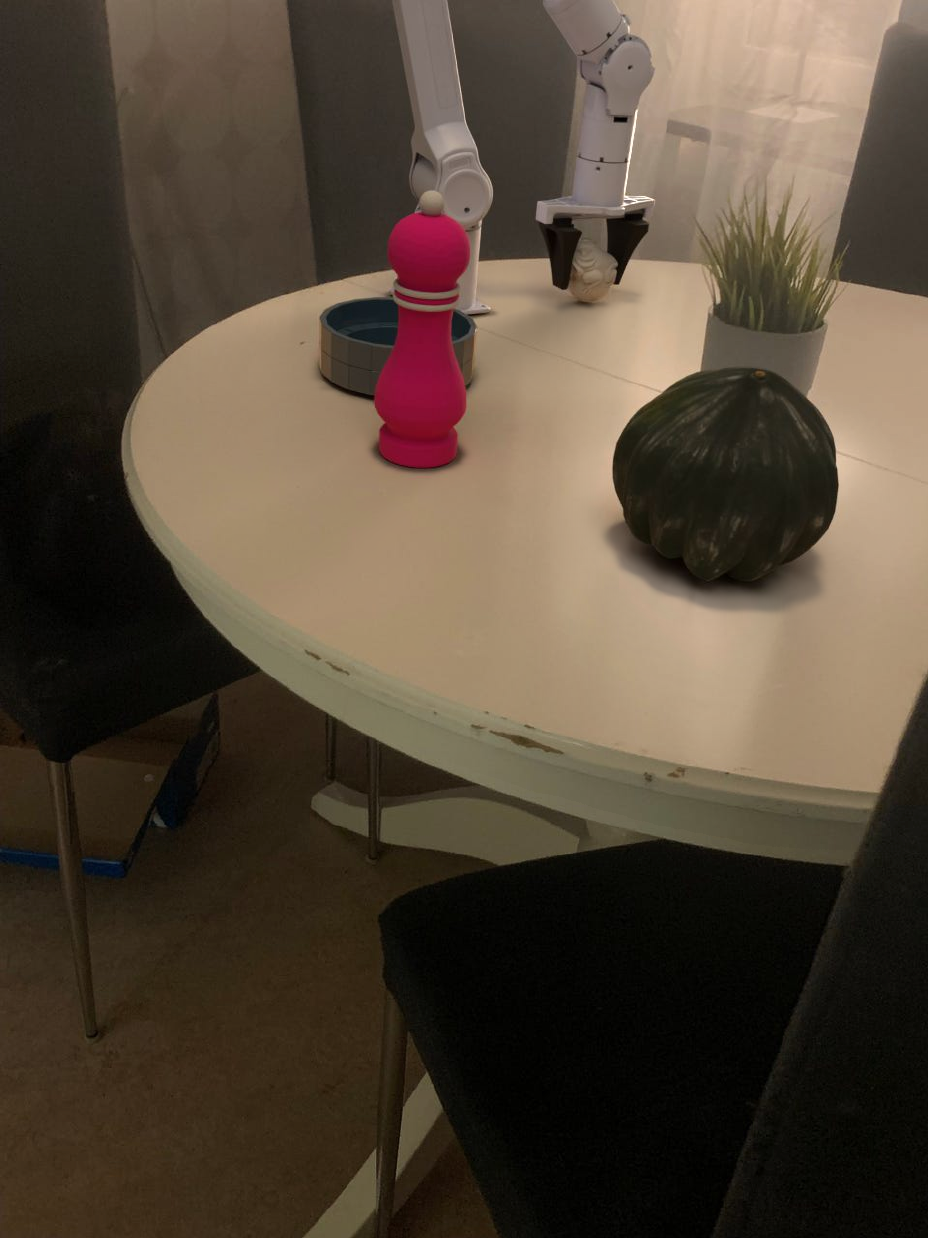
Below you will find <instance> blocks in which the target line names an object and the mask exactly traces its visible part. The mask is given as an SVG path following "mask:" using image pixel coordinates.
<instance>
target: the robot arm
mask: <svg viewBox="0 0 928 1238" xmlns="http://www.w3.org/2000/svg"><path fill="white" fill-rule="evenodd" d="M391 3H392V8H393V12H394V20H395V24H396V30H397V36H398V40H399V45H400V46H399V47H400V52H401V57H402V63H403V68H404V74H405V79H406V85H407V90H408V95H409V101H410V108H411V112H412V117H413V118H412V119H413V124H414V131H413V133H412V136H411V138H410V139H411V140H410V146H411V152H412V161H411V166H410V170H409V175H408V177H409V178H408V183H409V188H410V190H411V191H410V192H411V194H412V195H413V197H414V198H415V199H416V200H417V205H416V208H415V210H414V213H419V212H422V211H421V209H420V206H419V201H420V198H421V196H422V195H423V194H424V193H425V192H427V191H430V190H433V191H437V192H439V193H440V194H441V195H442V197H443V199H444V209H443V211H442V212H441V213H440V214H444V215H447V216H449V217H451V218H453V219H455V220H456V221H457V222H458V223H459V224H460V225H461V226H462V227H463V228H464V230H465V231H466V233H467V235H468V238H469V243H470V261H469V265H468V267H467V269H466V270H465V272H464V273H463V274H462V275H461V276H460V277H459V278H458V280H457V283H458V284H459V285H460V286H461V291H460V293H459V298H460V304H459V305H458V306H457V307H456V308H454V309H456V310H459V311H461V312H463V313H465V314H466V315H474V314H475V315H476V314H485V313H490V312H491V307H490V306H488V305H487V304H485V303H483V302H481V301H480V300H478V299H477V298H476V297H477V285H478V271H479V260H480V259H479V258H480V247H481V233H482V224H483V219H484V218H485V217H486V215H487V214H488V212H489V211H490V208H491V206H492V203H493V197H494V196H493V195H494V191H493V185H492V181H491V179H490V177H489V175H488V174H487V173H486V171H485V169H484V168H483V167H482V164H481V162H480V158H479V151H478V148H477V145H476V142H475V140H474V137H473V136H472V134H471V131H470V129H469V127H468V125H467V121H466V115H465V108H464V101H463V95H462V91H461V90H462V89H461V83H460V76H459V68H458V63H457V62H458V61H457V57H456V49H455V43H454V38H453V37H454V36H453V31H452V25H451V17H450V11H449V5H448V0H391ZM542 5H543V8H544V9H545V11H546V12H547V14H548V15H549V17H550V19H551V20H552V22H553V23H554V25H555V26H556V28H557V29H558V31H559V32H560V34H561V35H562V36H563V38H564V40H565V41H566V43H567V45H568V46H569V47H570V49H571V51H572V52H573V53H574V55H575V56H576V57H577V71H578V75H579V77H580V78H581V79H583V80H584V81H585V82H586V84H585V90H584V97H583V107H582V113H581V121H580V129H579V136H578V145H577V153H576V160H575V168H574V176H573V184H572V191H571V195H569V196H564V197H559V198H554V199H548V200H538V201H537V203H536V212H535V220H536V221H537V222H538V227H539V230H540V232H541V234H542V238H543V239H544V243H545V245H546V250H547V254H548V259H549V263H550V272H551V281H552V282H551V283H552V286H554V287H556V288H557V289H559V290H562V291H564V290H565V291H566V290H568V289H569V288H568V285H569V281H570V275H571V268H572V262H573V257H574V254H575V250H576V247H577V244H578V242H579V239H580V240H581V237H582V235H583V231H581V230H580V229H578V228H577V227H575V224H574V223H573V221H590V220H605V222H606V234H607V235H606V237H607V239H606V240H607V241H606V242H607V245H606V252H607V253H609V254H610V255H612V256H613V257H614V258H615V260H616V261H617V263H618V266H617V267H616V268H615V269H616V271H617V273H616V278H615V281H614V283H613V284H612V285H614V286H618V285H620V283H621V281H622V278H623V275H624V273H625V271H626V269H627V266H628V264H629V262H630V260H631V258H632V256H633V254H634V252H635V250H636V249H637V247H638V245H639V244H640V243H641V241H642V240H643V239H644V237H645V236H646V235H647V234H648V232H649V229H650V222H649V221H647V220H645V219H650V218H651V219H652V218H653V214H654V209H655V208H654V207H655V202H656V200H655V199H653V198H651V197H648V196H645V195H639V196H637V195H625V194H626V190H627V189H626V188H627V182H628V175H629V169H630V162H631V156H632V149H633V142H634V137H635V136H634V135H635V130H636V123H637V115H638V111H639V108H640V102H641V98H642V95H643V94H644V93H645V91H646V90H647V89H648V88H649V86H650V85H651V83H652V80H653V79H654V76H655V72H656V67H654V66H653V65H652V64H653V62H652V53H651V49H650V47H649V45H648V44H647V42H646V41H645V40H644V39H642V38H641V37H640V36H637V35H635V34H632V33H631V34H630V26H631V25H632V20H631V19H630V17H629V16H628V14H626V13H622V12H621V11H620V9H619V7H618V6H617V4H616V3H615V0H542ZM397 278H398V275H397V274H396V279H397ZM388 290H389V291H388V292H389V294H390V295H392V296H393V294H394V290H395V289H394V287H393V288H389V289H388Z"/></svg>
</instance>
